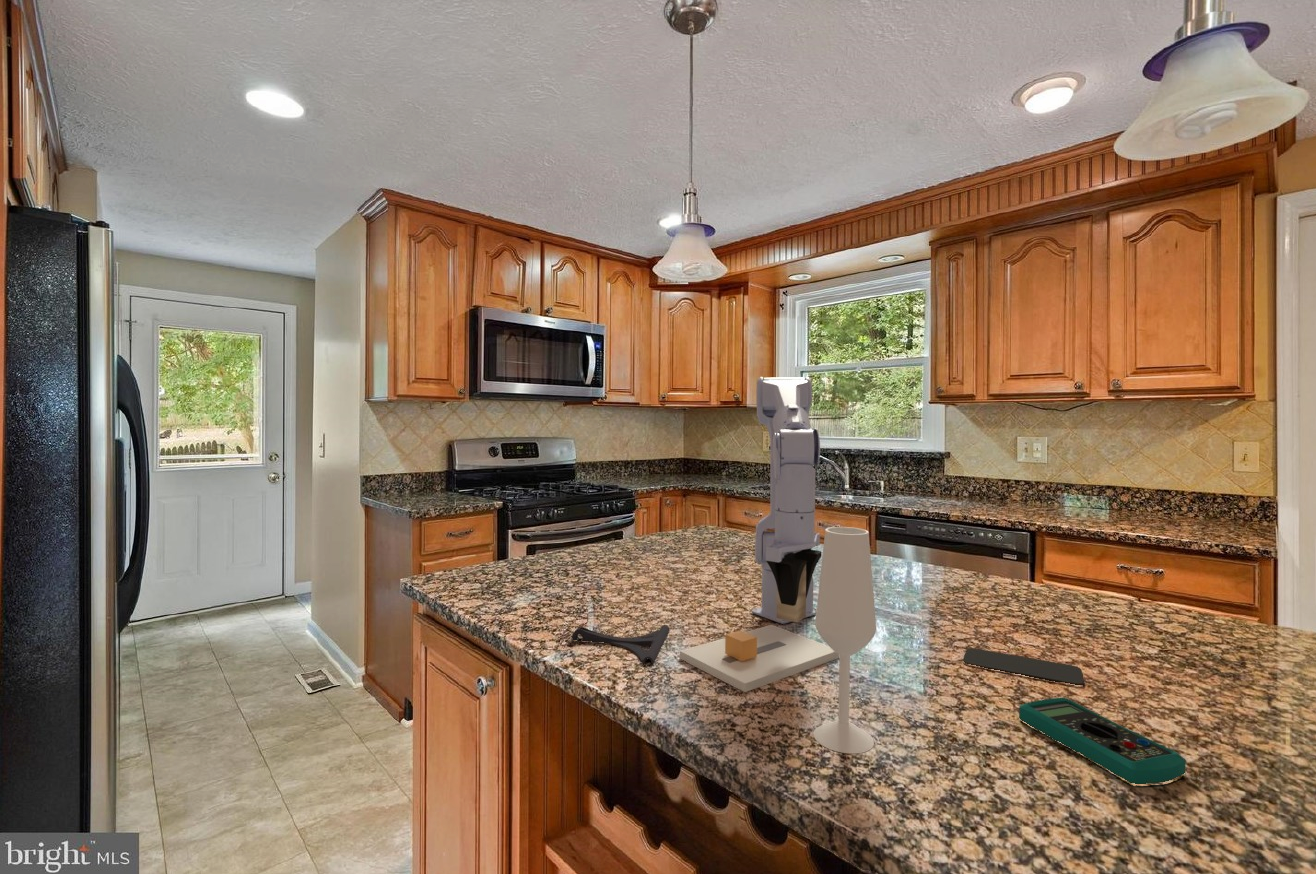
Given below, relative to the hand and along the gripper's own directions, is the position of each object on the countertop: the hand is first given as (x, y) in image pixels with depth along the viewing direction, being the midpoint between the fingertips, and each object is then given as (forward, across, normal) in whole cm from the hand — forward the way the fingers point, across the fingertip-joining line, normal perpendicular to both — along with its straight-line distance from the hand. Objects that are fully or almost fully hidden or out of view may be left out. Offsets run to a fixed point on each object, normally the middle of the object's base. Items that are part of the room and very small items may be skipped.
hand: (793, 601), depth 92 cm
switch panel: (+9, +1, -5) cm, 11 cm away
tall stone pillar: (+2, 0, 0) cm, 3 cm away
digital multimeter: (+10, +1, +37) cm, 38 cm away
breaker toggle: (+8, +5, -6) cm, 11 cm away
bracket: (+10, +10, -26) cm, 30 cm away
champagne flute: (+10, +16, +14) cm, 23 cm away
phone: (+10, -19, +27) cm, 35 cm away
